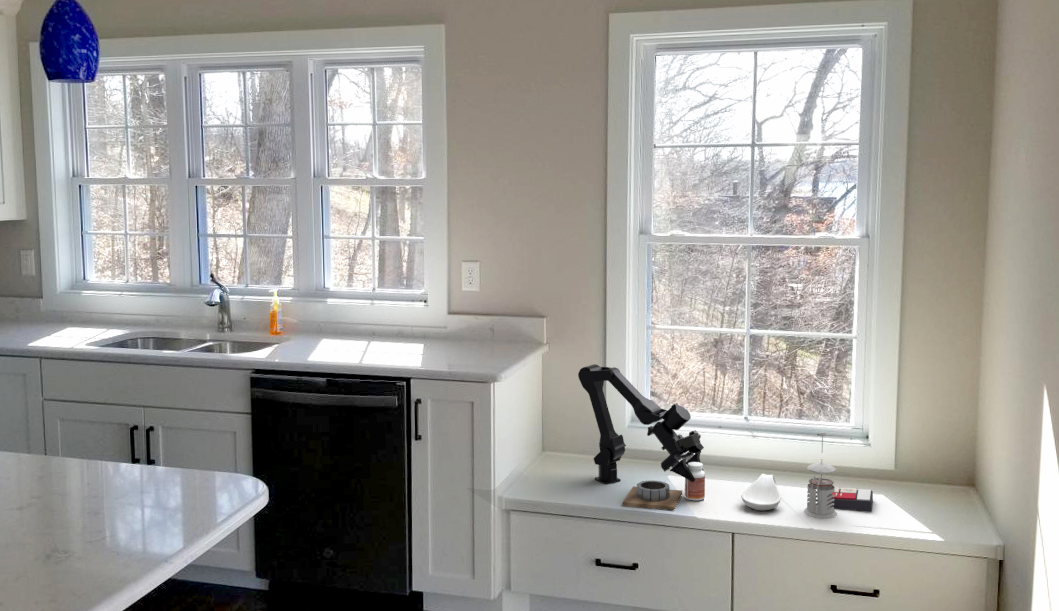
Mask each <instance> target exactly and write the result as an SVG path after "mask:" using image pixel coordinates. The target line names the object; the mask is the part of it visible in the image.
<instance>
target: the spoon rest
mask: <svg viewBox="0 0 1059 611" xmlns="http://www.w3.org/2000/svg"><path fill="white" fill-rule="evenodd" d="M740 496H741V500H742V502H743V503H744V504H745V506H747V507H749V509H753V510H754V511H761V512H763V511H770V510H773V509H774V508H776V507H777V506H778V505H779V504H780V502H781V499H782V497H781V493H780V491H779V489H778V487H777V484H776V479H775V477H774V474H765V473H761V474H760V475H759V477H758V478H757V479H756V480H755V481H754V482H753V483H751V484H750V485H749V486H748V487H747V488H746V489H744V490H743V491H742V493H741V495H740Z"/></svg>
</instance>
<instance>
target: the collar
mask: <svg viewBox="0 0 1059 611" xmlns="http://www.w3.org/2000/svg"><path fill="white" fill-rule="evenodd" d="M636 487H637V498H639V499H641V500H644V501H651V502H656V501H664V500H667V499H668V498H669V492H670V490H671V489H670V484H669V483H668V482H665V481H661V480H655V479H654V480H643V481H640V482H638V483H636Z"/></svg>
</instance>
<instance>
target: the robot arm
mask: <svg viewBox="0 0 1059 611" xmlns="http://www.w3.org/2000/svg"><path fill="white" fill-rule="evenodd" d="M577 376H578V379H579V381H580V385H581V386H582V388H583V389H584V390H585V391H586V393H587V394H588V397H589V400H590V404H591V407H592V410H593V413H594V418H595V421H596V423H597V428H598V431H599V436H600V437H599V442H598V448H599V452H598V453H597V454H596V455H595V456H594V457H593V461H594V464H595V465H597V466H598V476H596V477H594V480H596V481H598V482H600V483H602V484H605V485H606V484H611V483H616V482H621V480H622V479H620V478H619V477H618V463H617V462H619V461H621V459H622V456H623V455H624V454H625V452H626V447H627V444H626V443H625V440H624V435H623V434H618V433H617V432H616V430H615V428H614V424H613V421H612V417H611V414H610V411H609V407H608V404H607V400H606V397H605V392H604V386H605V385H604V383H605V382H606V381H607V382H609V383H610V384H611V385H612V386H613V387H614V389H615V390H616V391H617V392H618V393H619V394H620V395H621V396H622V397H623V399H625V400H626V401H627V402H628V404H629V405H630V406H631V407H632V409H633V411H634V414H635V416H636V418H637V419H638V421H640V423H641V424H643V425H644V426H645V425H646V426H648V427H647V434H646V436H647V437H650V436H651V435H652V436H653V435H654V436H655V437H656V439H657V441H658V442H659V443H660V444H661V445H662V447H661V450H662V451H665V450H666V452H667V453H668V454H669V455H668V456H667V457H666V458H664V460H662V461H661V463H660V468H661V469H662V471H663V472H664V473H665V472H667V471H669V472H673V473H674V474H676V475H678V476H681V477H683V478H684V479H685V478H686V479H688V480H690V481H692V482H694V481H695V478H694V476H693V475H692V473H691V472H690V470H689V469H688V463H690V462H700V463H702V461H701V458H700V457H701V453H702V451H703V449H705V447H704V446H703V444H702V443H701V440H700V439H701V437H702V436H701V434H700V433H699V432H698V431H697V430H696V429H695V430H694V429H693V430H691V431H689V433H688V435H687V436H683V435H682V434H677V433H676V431H679V430H680V429H681V428H682V427H684V425H686V424H687V423H688V422H689V421H690V420H691V413H690V412H689V410H688V408H687V409H686V408H685V407H684V406H682V405H680V404H679V403H678V402H676V403H673V404H672V405H671V406H670V407H669V409H666V408H665V409H664V408H661V407H660V405H658V404H657V403H656V402H655V401H653V400H651V399H649V398H647V397H645V396H644V395H643V394H642V393H641V392H639V390H638V389H637V388H636V387H635V386H634V385H633V384H632V383H631V382H630V381H629V380H628V378H626V376H624V375H623V373H622V372H621V371H620V369H619V368H618V367H615V366H614V367H613V366H612V367H608V366H599V365H598V364H590V365H586V366H584V367H582V368H580V369H579V371H578V375H577ZM661 420H662V421H661ZM651 424H653V425H651ZM649 425H650V426H649ZM702 470H703V471H704V472H705V470H704V468H703V469H702Z"/></svg>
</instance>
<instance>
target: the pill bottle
mask: <svg viewBox="0 0 1059 611" xmlns="http://www.w3.org/2000/svg"><path fill="white" fill-rule="evenodd" d="M700 462H701V461H700ZM700 462H690V463H688V465H687V467H688V469H689V470H690V472H691V473H692V475H693V476H694V478H695V481H694V482H692V481H690V480H688V479H686V478H684V497H685V499H686V500H688V501H689V500H690V501H697V502H698V501H702V500H704V499H705V495H706V494H705V492H706V490H705V489H706V473H705V470H704V466H703V465H704V464H703V463H702V462H701V463H700ZM702 469H703V470H704V471H703V470H702Z"/></svg>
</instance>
